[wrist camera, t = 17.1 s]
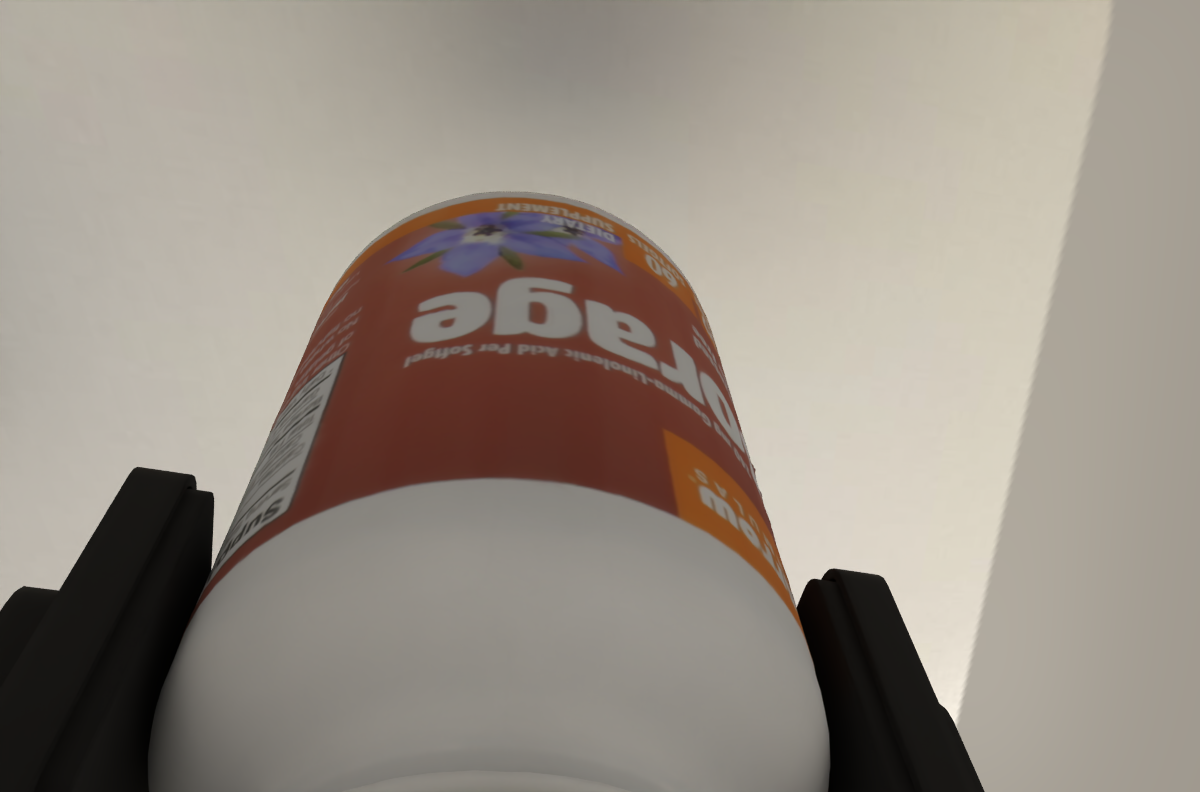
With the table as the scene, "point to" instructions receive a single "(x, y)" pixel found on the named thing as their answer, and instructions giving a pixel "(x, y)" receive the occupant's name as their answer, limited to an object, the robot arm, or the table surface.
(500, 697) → the pill bottle
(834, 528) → the table surface
